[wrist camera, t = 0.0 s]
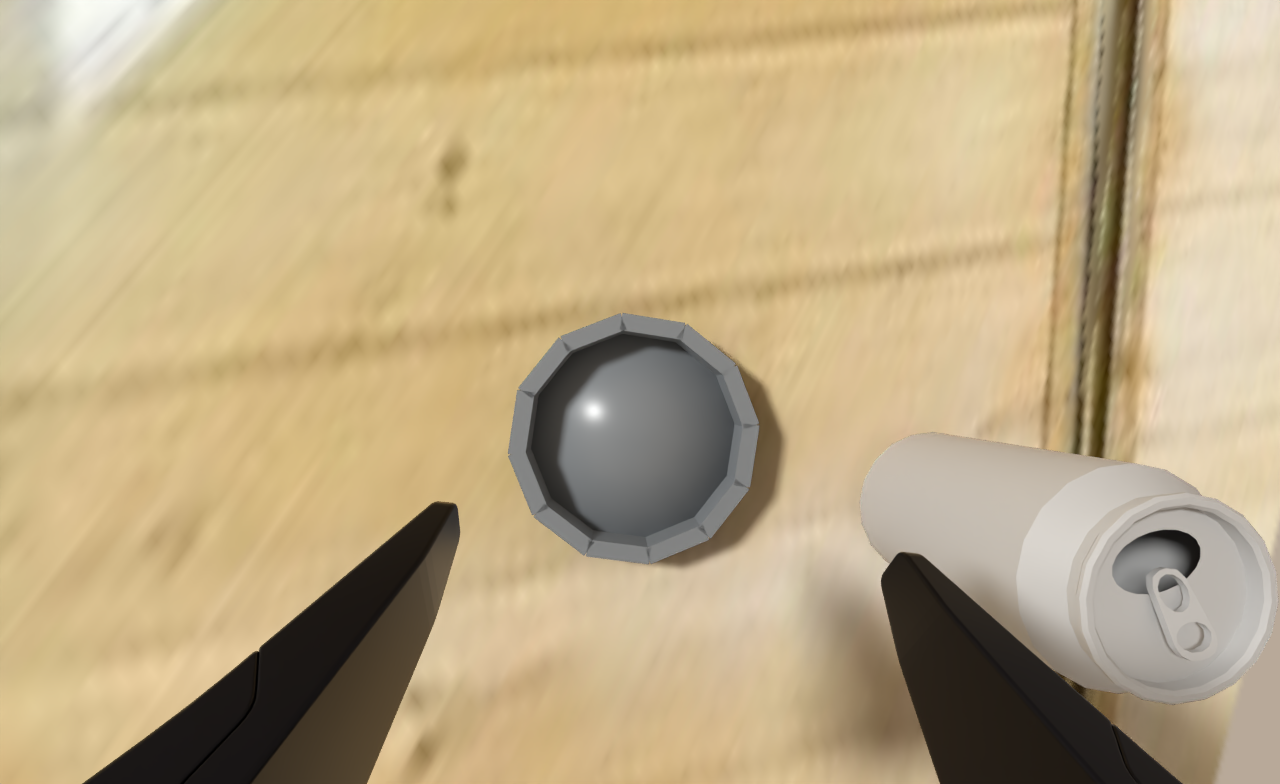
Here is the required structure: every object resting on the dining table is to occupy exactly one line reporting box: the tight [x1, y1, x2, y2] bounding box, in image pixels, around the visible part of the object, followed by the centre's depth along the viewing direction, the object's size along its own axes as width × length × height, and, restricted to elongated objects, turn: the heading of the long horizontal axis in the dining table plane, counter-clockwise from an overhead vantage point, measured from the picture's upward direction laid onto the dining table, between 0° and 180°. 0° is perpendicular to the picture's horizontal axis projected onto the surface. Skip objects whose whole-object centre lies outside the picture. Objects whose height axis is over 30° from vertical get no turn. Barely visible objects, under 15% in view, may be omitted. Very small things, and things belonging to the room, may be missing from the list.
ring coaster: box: [508, 313, 759, 564], centre depth 23 cm, size 12×12×2 cm
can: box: [860, 432, 1278, 705], centre depth 19 cm, size 8×8×12 cm
